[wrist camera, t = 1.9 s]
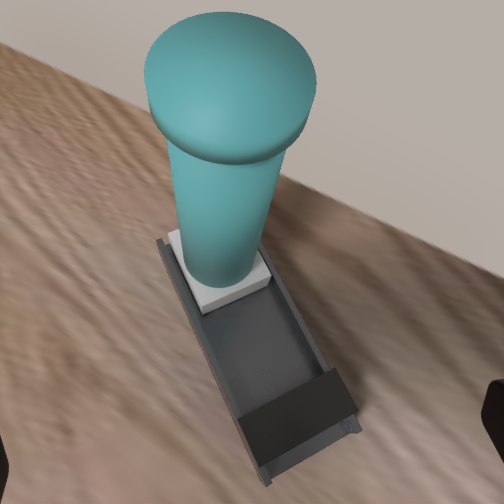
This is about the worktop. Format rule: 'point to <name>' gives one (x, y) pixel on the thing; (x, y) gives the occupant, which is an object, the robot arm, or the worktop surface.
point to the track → (269, 372)
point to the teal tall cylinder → (226, 140)
